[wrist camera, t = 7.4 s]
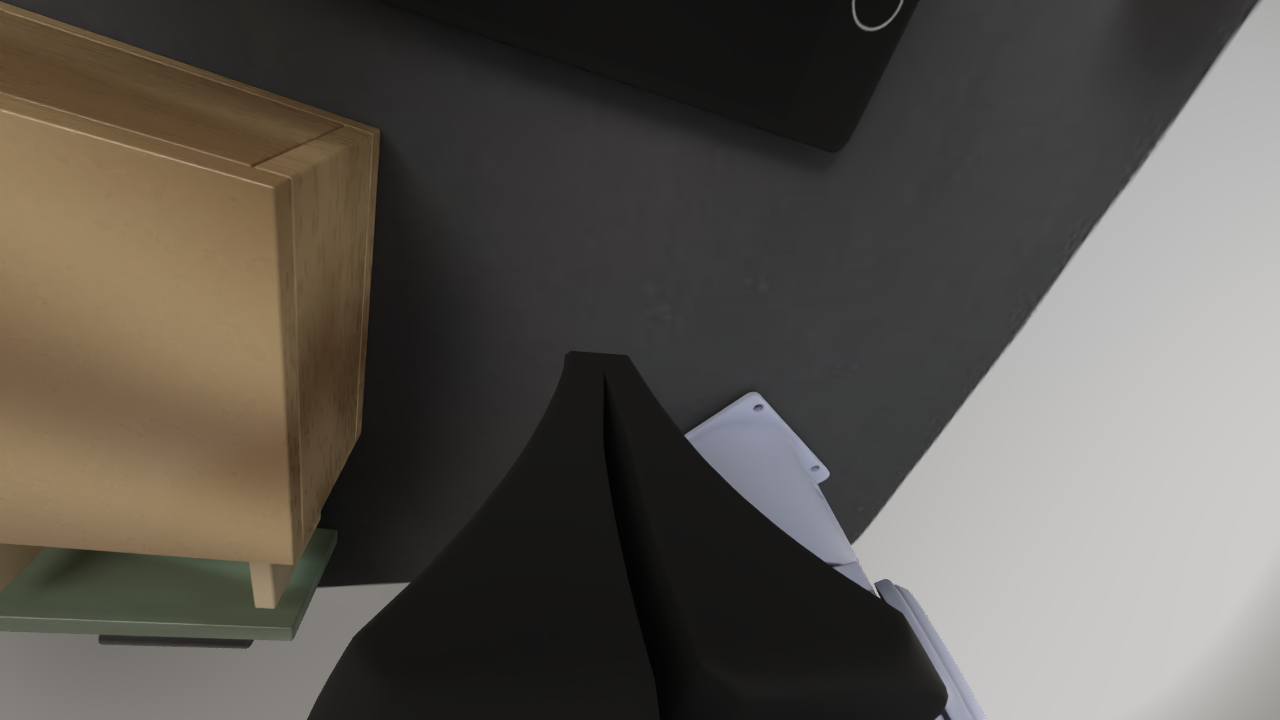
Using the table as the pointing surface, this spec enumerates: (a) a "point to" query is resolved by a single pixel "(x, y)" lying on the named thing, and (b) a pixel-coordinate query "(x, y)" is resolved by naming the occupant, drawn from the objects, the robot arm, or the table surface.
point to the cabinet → (173, 301)
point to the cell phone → (711, 51)
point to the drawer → (159, 595)
